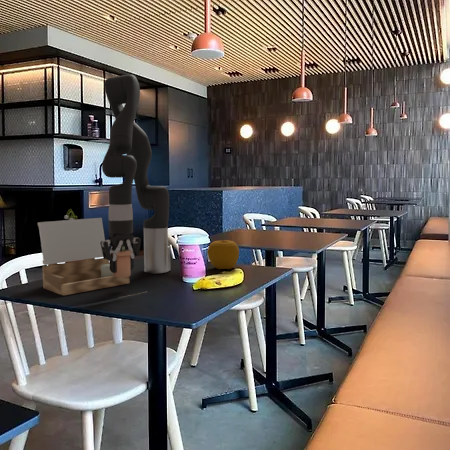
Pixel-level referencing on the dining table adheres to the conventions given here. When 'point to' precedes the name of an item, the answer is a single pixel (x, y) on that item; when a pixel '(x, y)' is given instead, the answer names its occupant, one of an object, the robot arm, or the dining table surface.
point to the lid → (71, 240)
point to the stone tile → (132, 294)
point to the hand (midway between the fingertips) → (121, 271)
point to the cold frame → (78, 277)
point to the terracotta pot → (123, 263)
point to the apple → (223, 254)
